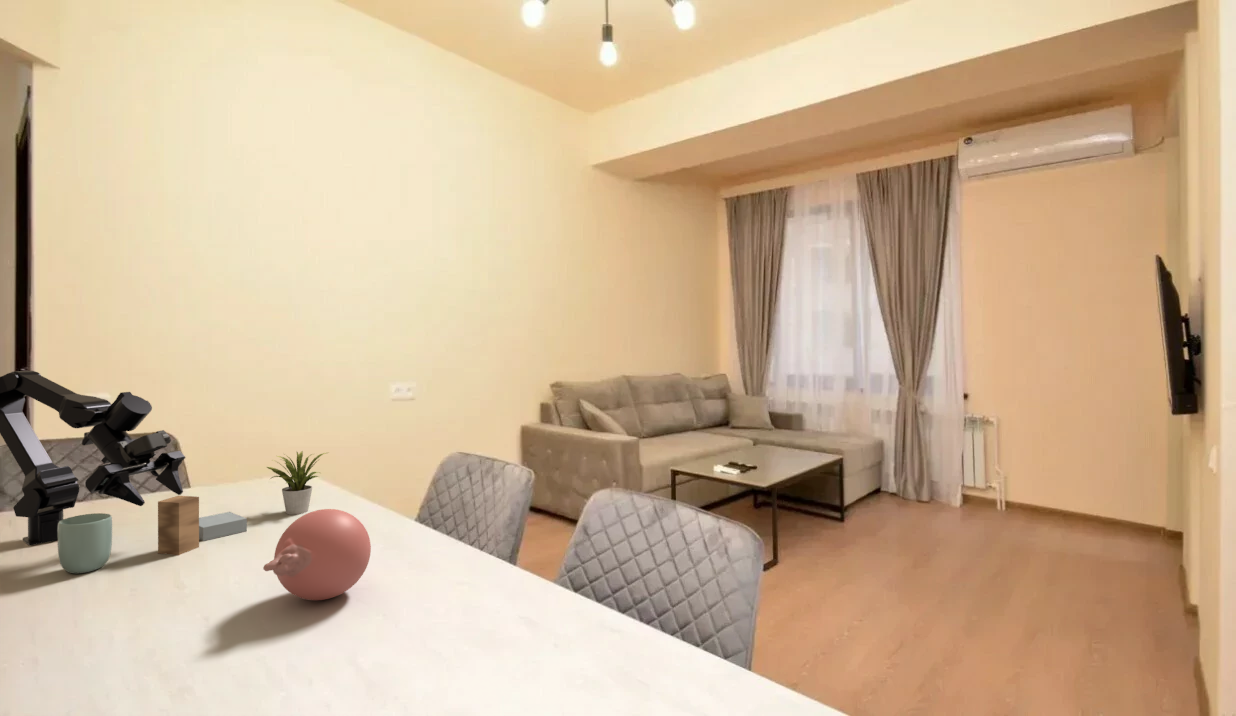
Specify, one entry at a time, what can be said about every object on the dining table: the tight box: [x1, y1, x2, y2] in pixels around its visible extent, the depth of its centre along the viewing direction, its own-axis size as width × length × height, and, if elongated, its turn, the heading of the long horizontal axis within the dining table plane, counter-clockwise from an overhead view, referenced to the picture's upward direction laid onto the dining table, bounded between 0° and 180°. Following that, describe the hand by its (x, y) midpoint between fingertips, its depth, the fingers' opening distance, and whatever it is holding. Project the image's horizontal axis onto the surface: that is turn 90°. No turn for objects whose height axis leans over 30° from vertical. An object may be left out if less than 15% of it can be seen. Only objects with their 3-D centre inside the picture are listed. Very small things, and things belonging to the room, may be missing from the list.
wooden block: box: [157, 495, 200, 556], centre depth 128 cm, size 5×5×11 cm
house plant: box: [266, 450, 330, 515], centre depth 159 cm, size 14×14×16 cm
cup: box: [57, 512, 113, 574], centre depth 117 cm, size 8×8×10 cm
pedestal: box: [199, 511, 248, 542], centre depth 141 cm, size 9×9×3 cm
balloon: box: [262, 508, 372, 601], centre depth 105 cm, size 15×20×15 cm
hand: (162, 498), depth 129 cm, fingers open, 9 cm apart
